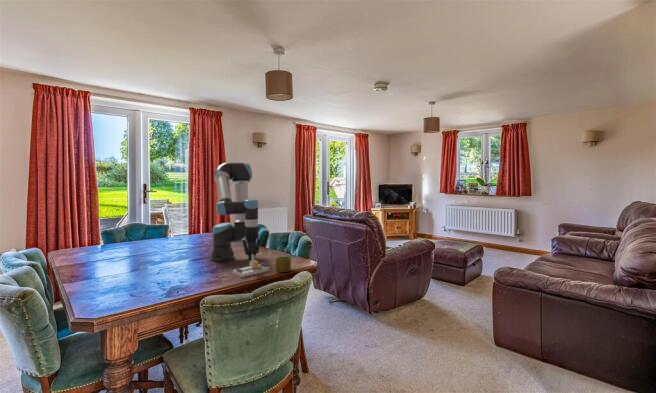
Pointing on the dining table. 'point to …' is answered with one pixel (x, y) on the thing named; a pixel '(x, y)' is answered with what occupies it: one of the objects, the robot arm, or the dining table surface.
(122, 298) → the dining table surface
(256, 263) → the fader
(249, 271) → the console
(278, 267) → the mug
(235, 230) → the robot arm
